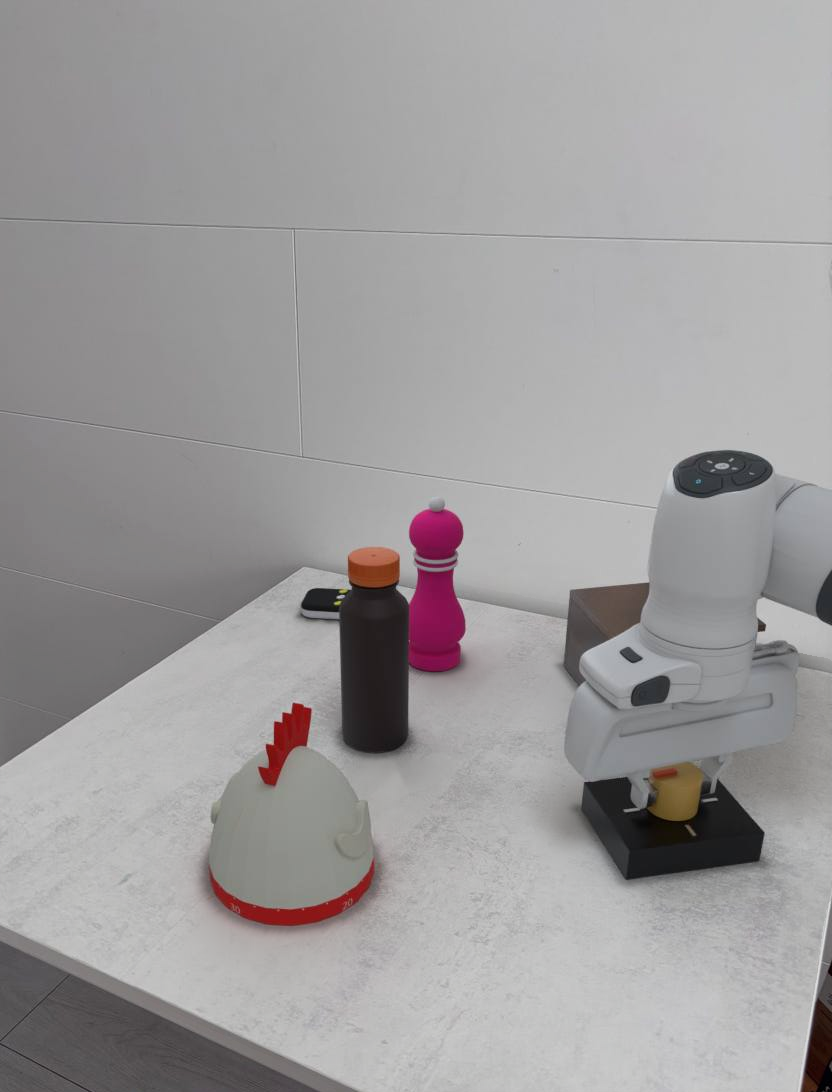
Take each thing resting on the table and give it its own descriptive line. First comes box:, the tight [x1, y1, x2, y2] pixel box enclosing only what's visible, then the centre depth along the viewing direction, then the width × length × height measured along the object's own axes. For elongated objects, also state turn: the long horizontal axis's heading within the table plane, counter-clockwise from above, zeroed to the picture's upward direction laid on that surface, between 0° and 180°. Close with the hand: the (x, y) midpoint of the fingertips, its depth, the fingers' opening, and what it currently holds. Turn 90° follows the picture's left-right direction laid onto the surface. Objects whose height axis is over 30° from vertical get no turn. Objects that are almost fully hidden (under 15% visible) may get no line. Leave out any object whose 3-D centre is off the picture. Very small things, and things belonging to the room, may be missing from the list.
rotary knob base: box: [580, 776, 766, 880], centre depth 90 cm, size 12×10×3 cm
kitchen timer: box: [208, 702, 375, 927], centre depth 84 cm, size 14×14×15 cm
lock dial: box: [647, 761, 703, 821], centre depth 88 cm, size 4×4×4 cm
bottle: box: [338, 546, 410, 753], centre depth 101 cm, size 7×7×20 cm
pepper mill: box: [408, 495, 467, 672], centre depth 116 cm, size 7×7×20 cm
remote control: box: [300, 587, 352, 620], centre depth 132 cm, size 6×13×2 cm, turn 80°
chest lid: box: [569, 581, 767, 640], centre depth 109 cm, size 16×13×5 cm
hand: (671, 797), depth 88 cm, fingers closed on lock dial, 4 cm apart
